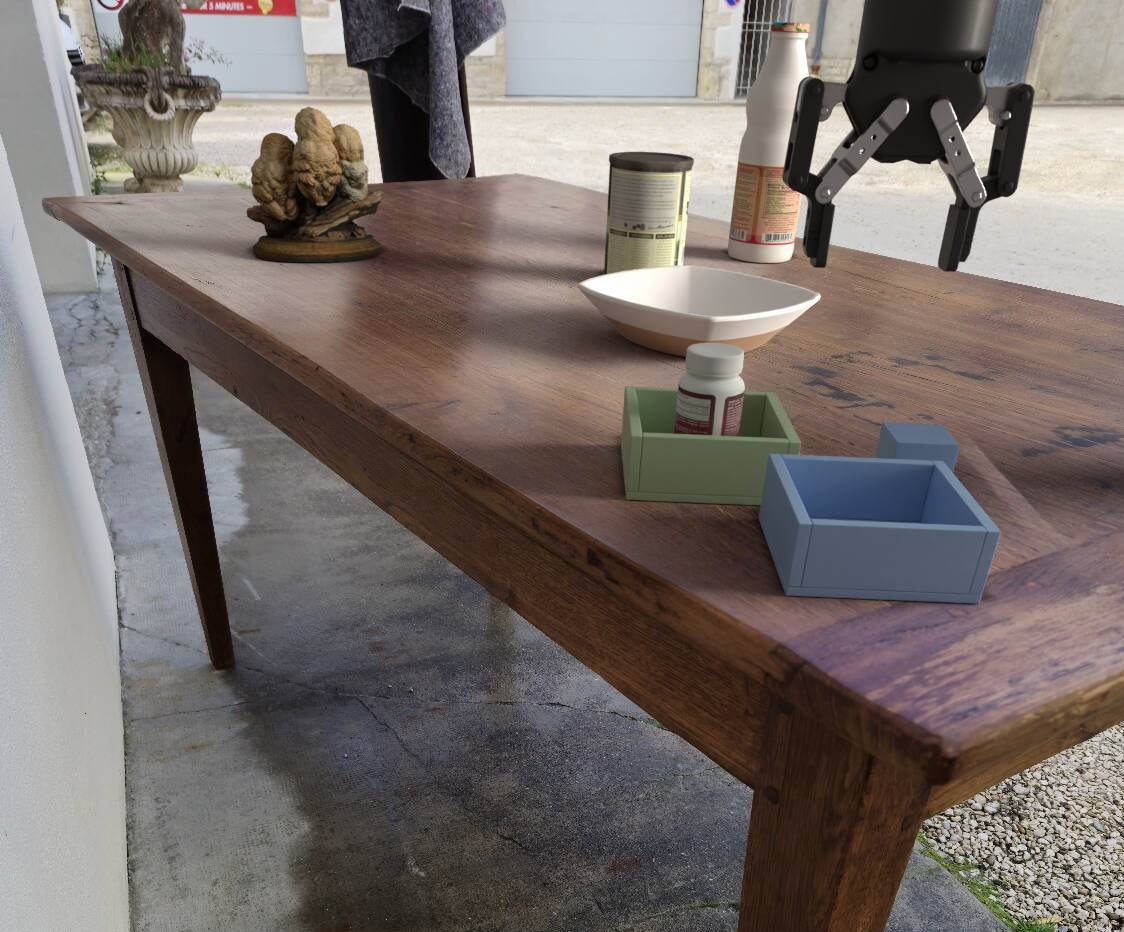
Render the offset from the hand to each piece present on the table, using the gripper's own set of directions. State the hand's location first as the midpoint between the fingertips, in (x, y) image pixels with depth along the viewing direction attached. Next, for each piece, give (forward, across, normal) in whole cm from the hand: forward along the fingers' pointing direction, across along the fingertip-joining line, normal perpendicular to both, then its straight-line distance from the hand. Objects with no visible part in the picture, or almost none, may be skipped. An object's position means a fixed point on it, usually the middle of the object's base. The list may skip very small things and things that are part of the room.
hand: (882, 267), depth 68 cm
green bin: (+15, -10, +1) cm, 18 cm away
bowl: (+15, -8, +40) cm, 43 cm away
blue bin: (+15, -1, -13) cm, 20 cm away
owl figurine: (+14, -55, +78) cm, 96 cm away
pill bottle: (+14, -10, +1) cm, 18 cm away
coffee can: (+15, -12, +70) cm, 73 cm away
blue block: (+15, +4, -1) cm, 16 cm away
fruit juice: (+15, +6, +90) cm, 92 cm away
